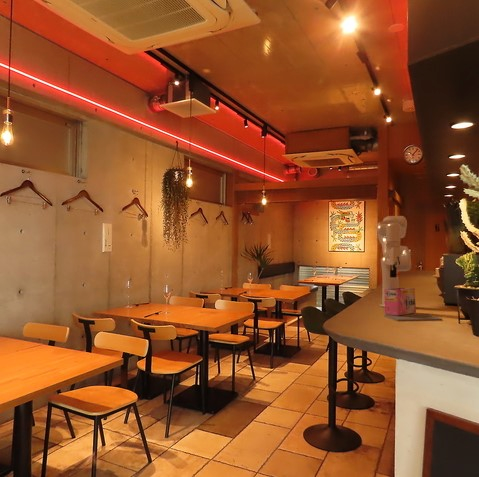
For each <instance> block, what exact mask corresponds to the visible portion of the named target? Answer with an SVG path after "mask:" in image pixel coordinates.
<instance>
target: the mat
mask: <svg viewBox="0 0 479 477" xmlns="http://www.w3.org/2000/svg"><path fill="white" fill-rule="evenodd" d="M383 316H384V317H385V318H387V319H390V320H393V321H397V322H420V321H421V322H423V321H426V322H427V321H428V322H429V321H430V322H431V321H443V318H441V317H437V316H433V315H430V314H427V313H422V314H421V313H416V314H415V313H410V314H404V315H399V316H396V315H385V314H383Z"/></svg>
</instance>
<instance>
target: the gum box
mask: <svg viewBox="0 0 479 477" xmlns="http://www.w3.org/2000/svg"><path fill="white" fill-rule="evenodd" d="M415 289H416V288H414V287H413V288H405V287H399V288H395V289H384V299H385V307H384V315H396V316H399V315H404V314H415V313H417V306H416V293H415V292H416V291H415Z"/></svg>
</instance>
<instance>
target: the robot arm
mask: <svg viewBox="0 0 479 477" xmlns="http://www.w3.org/2000/svg"><path fill="white" fill-rule="evenodd" d="M407 227H408V222H407V219H406V217H405V216H404V215H388V216H386V217H384V218H383V219H382V221H378V223H377V225H376V234H377V239H378V241H379V243H380V245H381V247H382V248H381V249H382V250H381V251H382V255H383V256H382V257H381V259H380V263H381V264H380V267H381V274H382V280H381V281H382V283H381V284H382V285H381V286H382V288H381V290H382V298H381V301H382V303H381V302H380V304H379V306H380V307H382V308H385V299H384V289H395V288H400V285H399V281H400V280H399V276H398V274H397V272H407V271H410V270H411V268H412V258H411V253H410V249H409V247H408V246H406V245H401V239H403V238H405V237H406V233H407Z"/></svg>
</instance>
